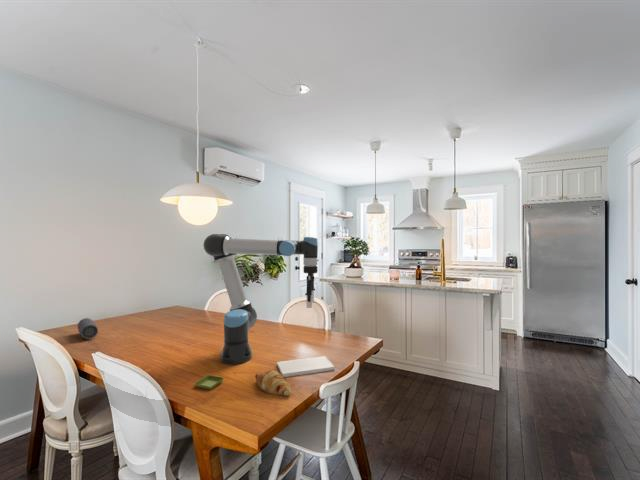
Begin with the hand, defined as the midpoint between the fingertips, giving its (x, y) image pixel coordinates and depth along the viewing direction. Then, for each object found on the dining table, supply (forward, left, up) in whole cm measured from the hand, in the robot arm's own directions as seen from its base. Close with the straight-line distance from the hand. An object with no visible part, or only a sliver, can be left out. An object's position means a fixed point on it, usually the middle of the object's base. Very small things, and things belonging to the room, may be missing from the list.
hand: (310, 305), depth 171 cm
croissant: (-27, -38, -25) cm, 52 cm away
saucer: (-51, -26, -25) cm, 62 cm away
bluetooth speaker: (-126, +69, -25) cm, 146 cm away
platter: (-9, -22, -24) cm, 34 cm away
